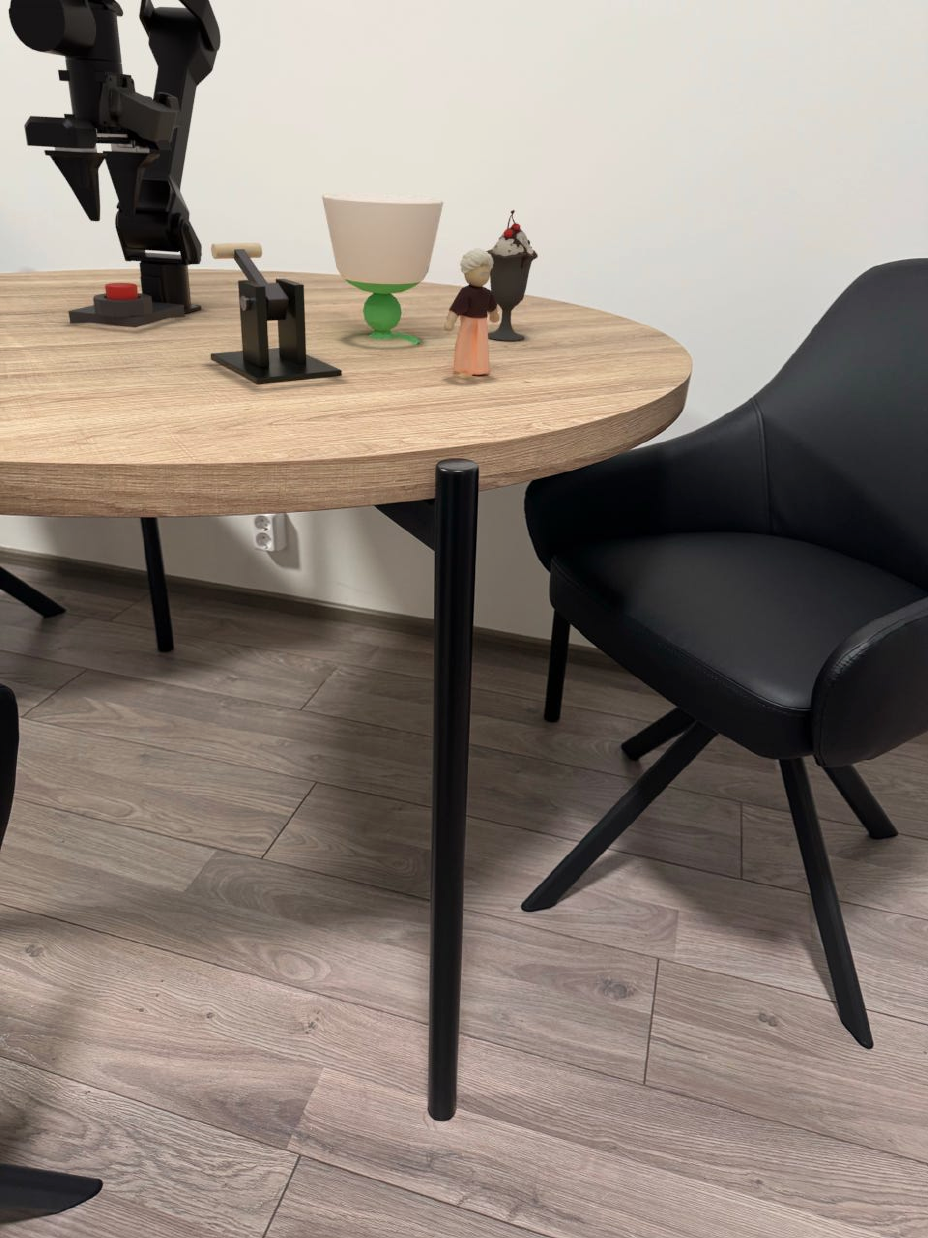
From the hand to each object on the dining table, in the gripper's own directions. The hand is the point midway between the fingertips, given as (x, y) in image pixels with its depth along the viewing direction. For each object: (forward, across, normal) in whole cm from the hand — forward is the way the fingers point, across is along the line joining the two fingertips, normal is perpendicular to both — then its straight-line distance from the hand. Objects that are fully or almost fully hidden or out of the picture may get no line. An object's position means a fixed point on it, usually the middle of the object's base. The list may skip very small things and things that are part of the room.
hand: (112, 219), depth 105 cm
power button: (+9, 0, 0) cm, 9 cm away
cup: (+12, +7, -30) cm, 34 cm away
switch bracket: (+12, -14, -26) cm, 32 cm away
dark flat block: (+12, +3, +2) cm, 12 cm away
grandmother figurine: (+12, -7, -46) cm, 48 cm away
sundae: (+12, +17, -44) cm, 48 cm away
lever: (+4, -11, -23) cm, 26 cm away
